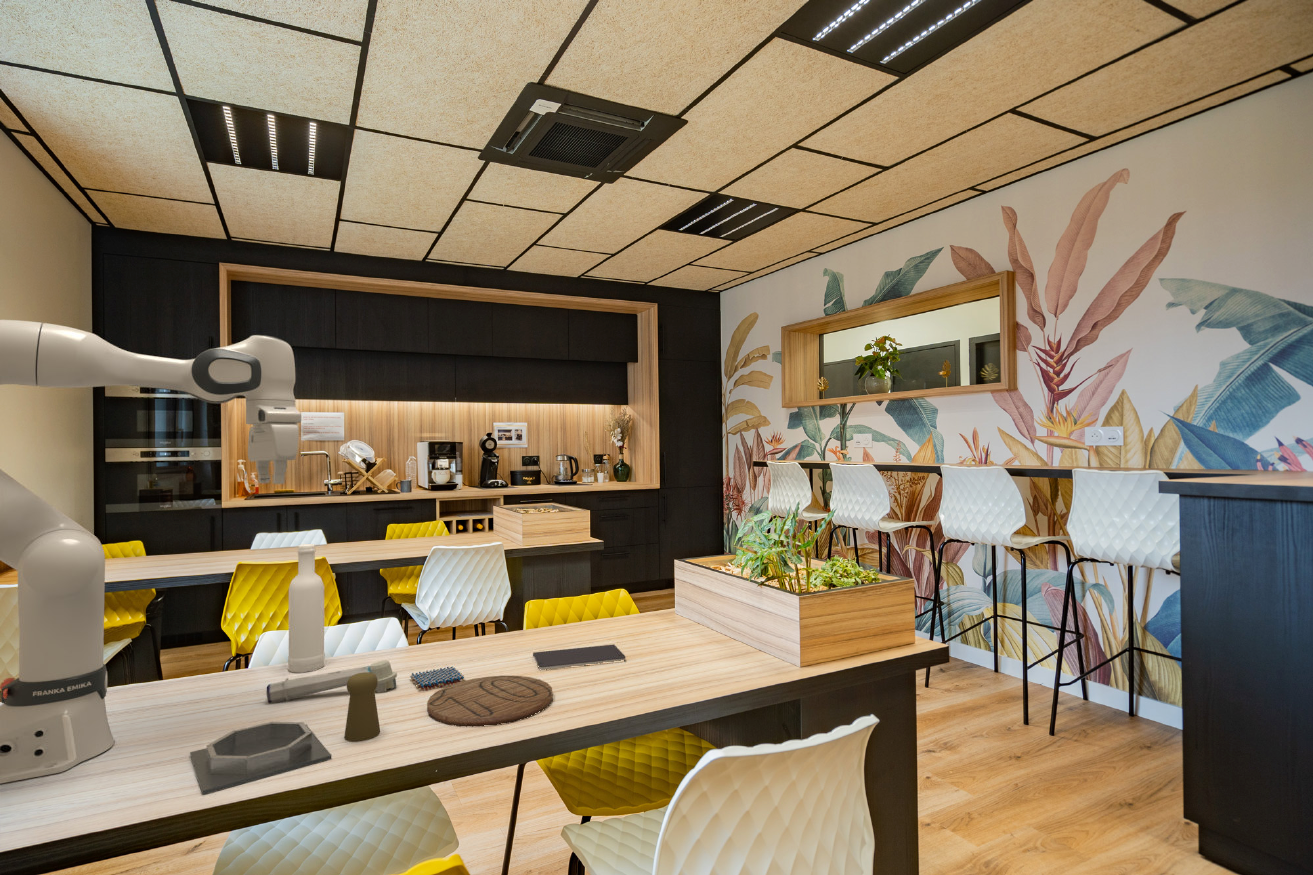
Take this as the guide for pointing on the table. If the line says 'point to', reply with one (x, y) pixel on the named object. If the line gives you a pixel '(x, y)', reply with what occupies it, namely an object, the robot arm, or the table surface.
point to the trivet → (489, 700)
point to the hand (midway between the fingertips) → (271, 483)
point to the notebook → (577, 656)
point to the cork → (362, 708)
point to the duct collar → (256, 754)
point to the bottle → (306, 615)
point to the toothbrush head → (329, 682)
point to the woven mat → (436, 678)
